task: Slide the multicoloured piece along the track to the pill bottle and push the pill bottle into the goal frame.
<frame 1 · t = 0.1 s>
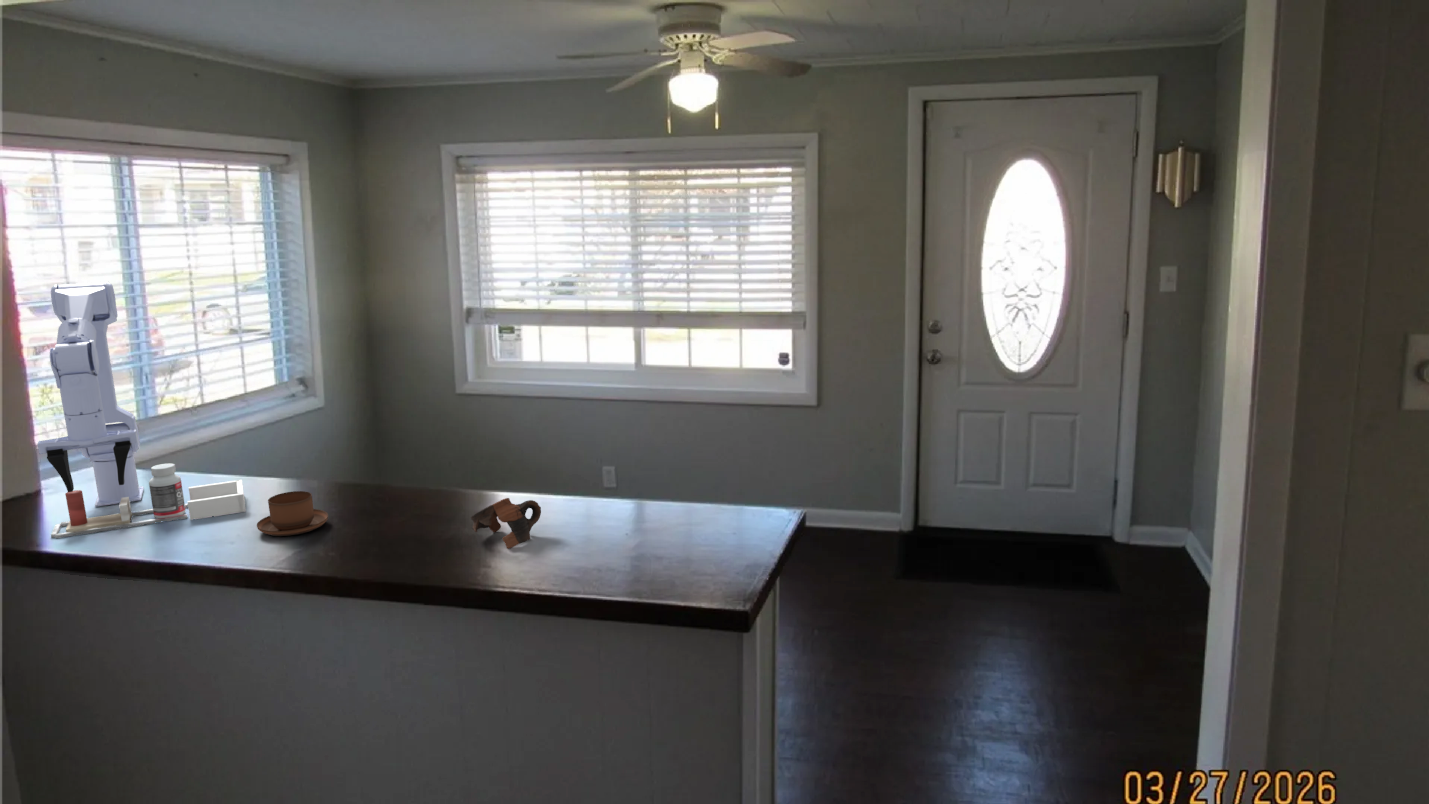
hand: (96, 487, 172), 10 cm above the countertop, tool pointing down, fingers open, 7 cm apart
track: (125, 521, 185), on the countertop
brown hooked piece: (509, 539, 171), on the countertop
multicoloured piece: (97, 507, 182), point 3 cm above the countertop, slide at 0.0 cm
cup and saucer: (294, 530, 178), on the countertop
goal frame: (216, 507, 191), on the countertop
pill bottle: (170, 516, 188), on the countertop
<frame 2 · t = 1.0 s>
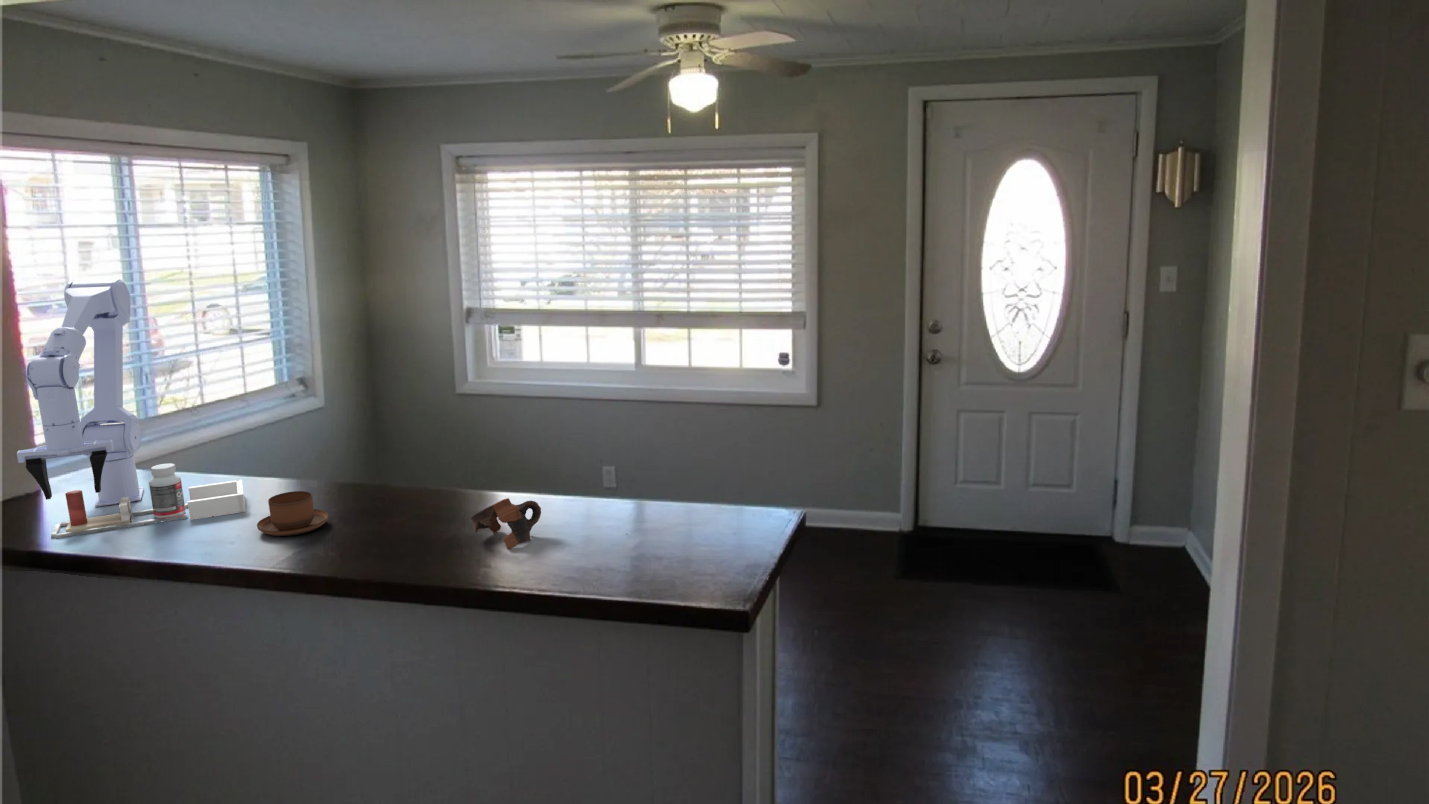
hand: (73, 494, 180), 7 cm above the countertop, tool pointing down, fingers open, 7 cm apart
nothing on the countertop moved.
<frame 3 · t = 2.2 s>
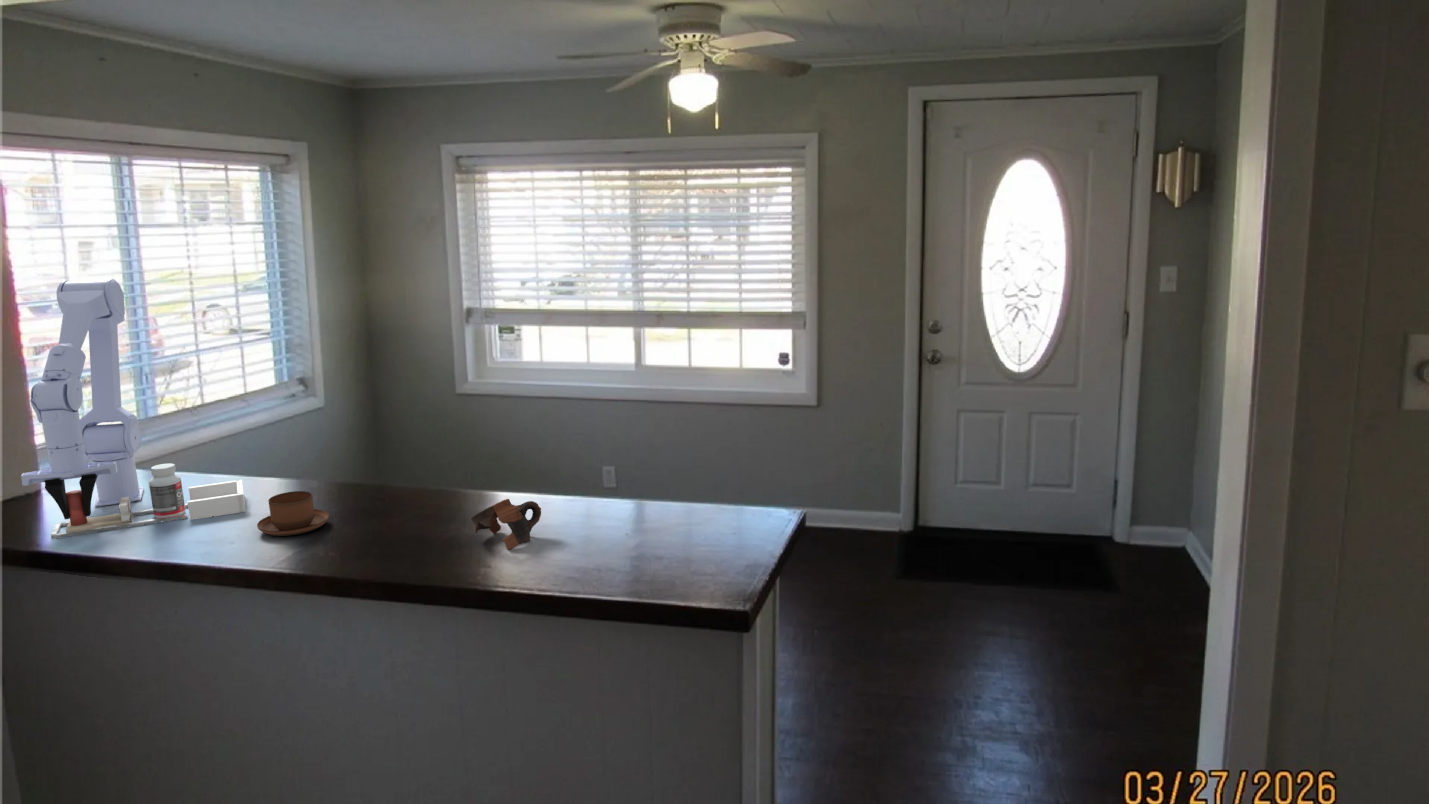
hand: (77, 516, 181), 2 cm above the countertop, tool pointing down, fingers closed on multicoloured piece, 3 cm apart
multicoloured piece: (97, 507, 182), point 4 cm above the countertop, slide at 0.0 cm, touching gripper
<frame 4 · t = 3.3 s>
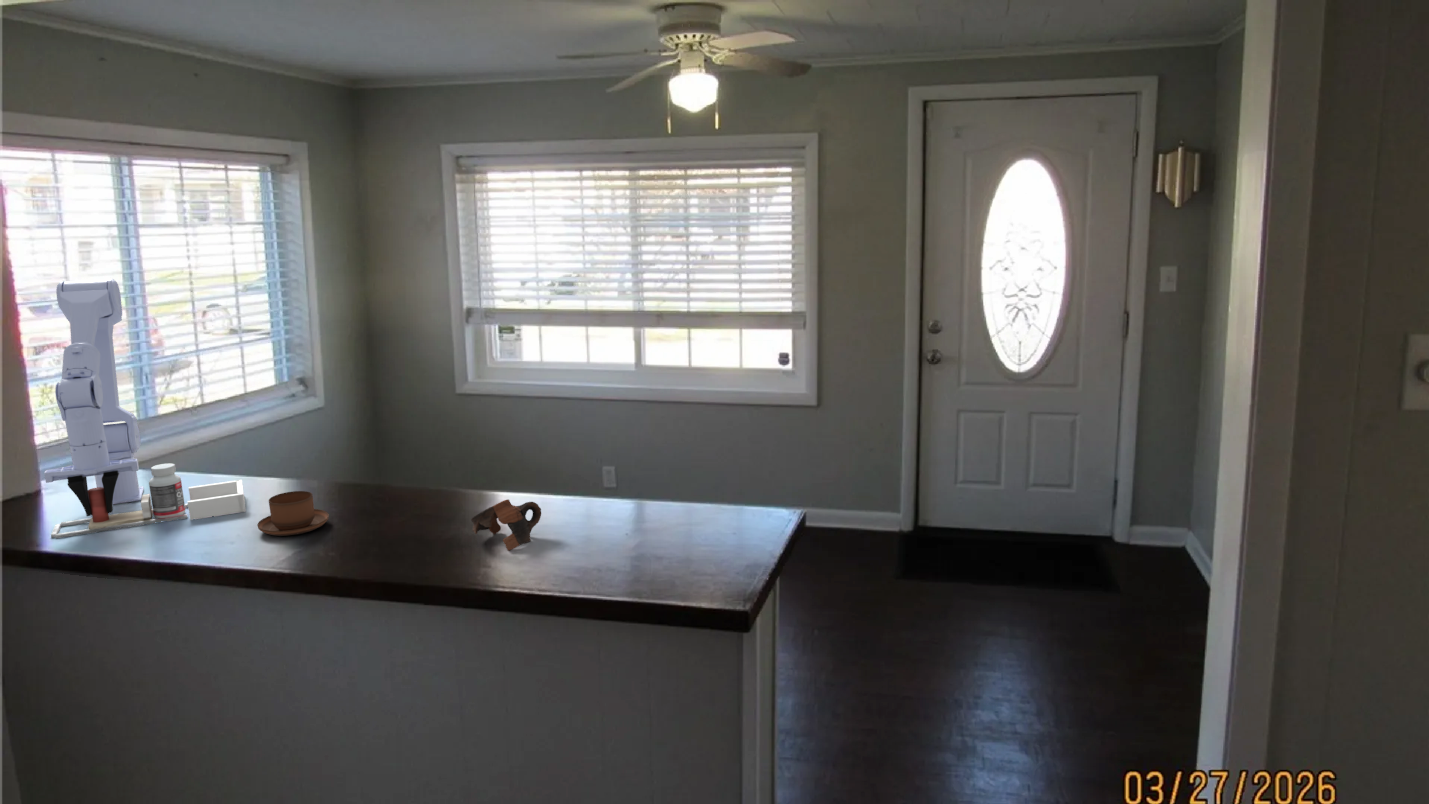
hand: (99, 513, 182), 2 cm above the countertop, tool pointing down, fingers closed on multicoloured piece, 3 cm apart
multicoloured piece: (118, 504, 184), point 3 cm above the countertop, slide at 3.5 cm, touching gripper
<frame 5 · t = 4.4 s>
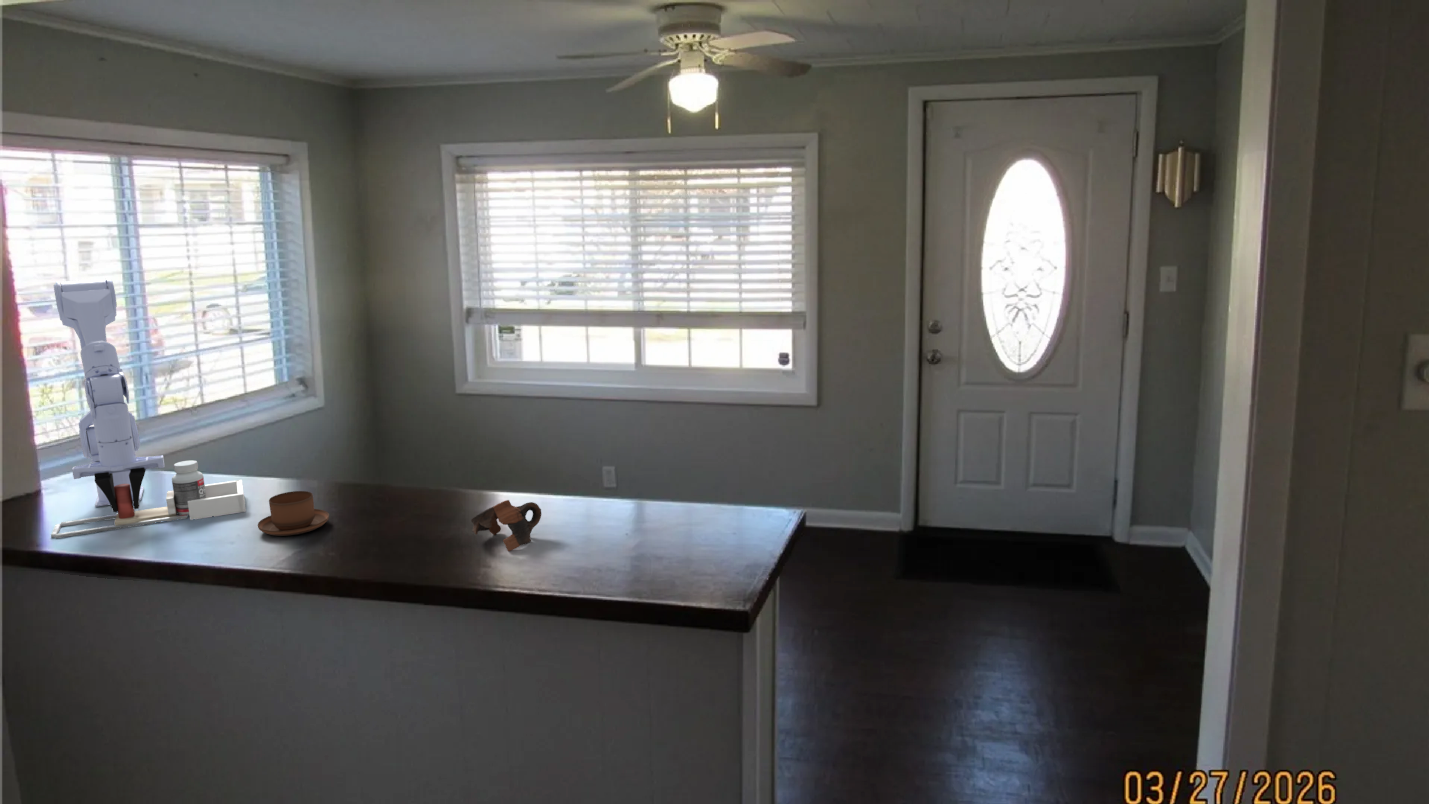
hand: (126, 509, 184), 2 cm above the countertop, tool pointing down, fingers open, 3 cm apart
multicoloured piece: (144, 500, 185), point 4 cm above the countertop, slide at 7.6 cm, touching gripper, pill bottle
pill bottle: (192, 512, 189), on the countertop, touching multicoloured piece
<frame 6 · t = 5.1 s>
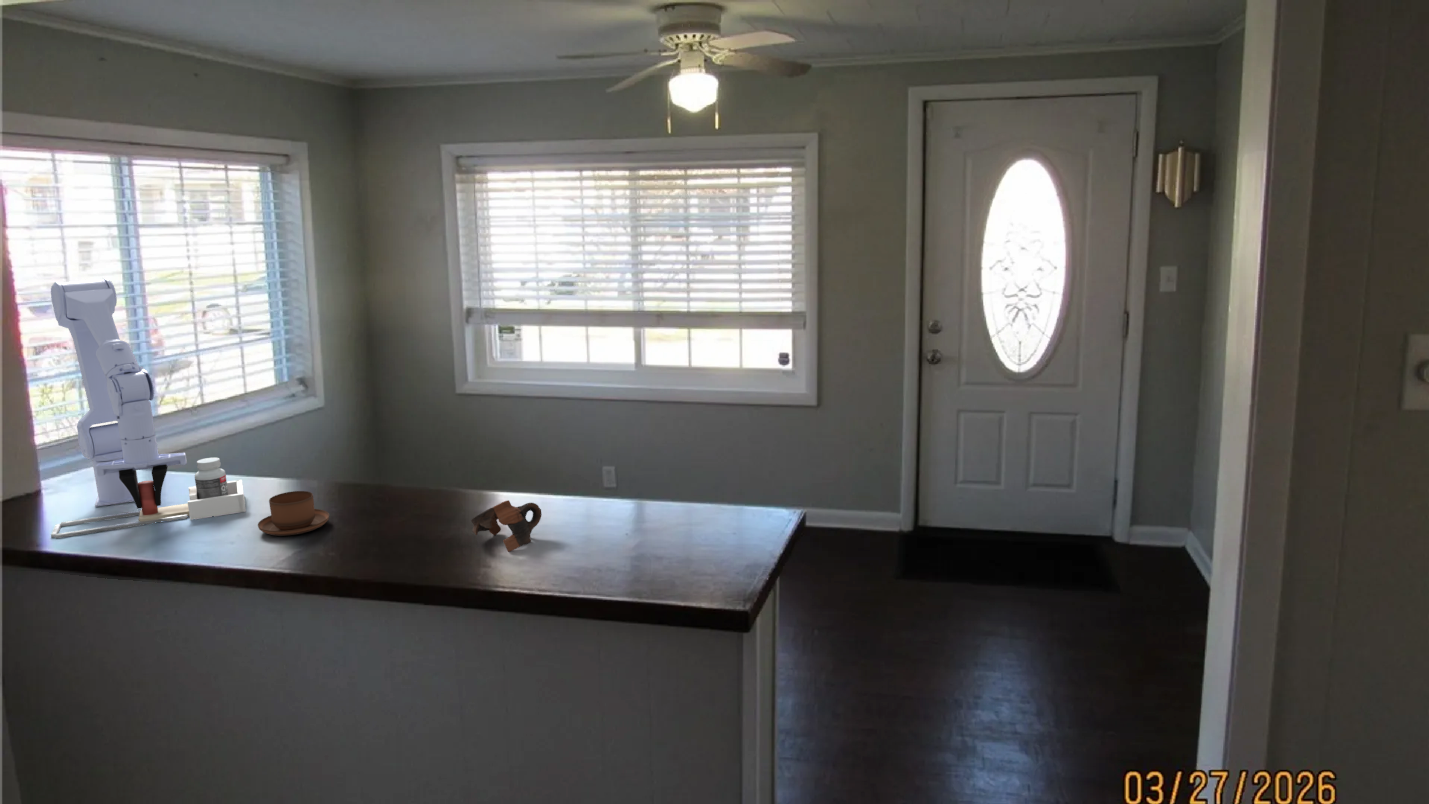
hand: (149, 505, 186), 2 cm above the countertop, tool pointing down, fingers closed on multicoloured piece, 2 cm apart
multicoloured piece: (167, 497, 187), point 4 cm above the countertop, slide at 11.5 cm, touching gripper, pill bottle
pill bottle: (215, 509, 191), on the countertop, touching multicoloured piece
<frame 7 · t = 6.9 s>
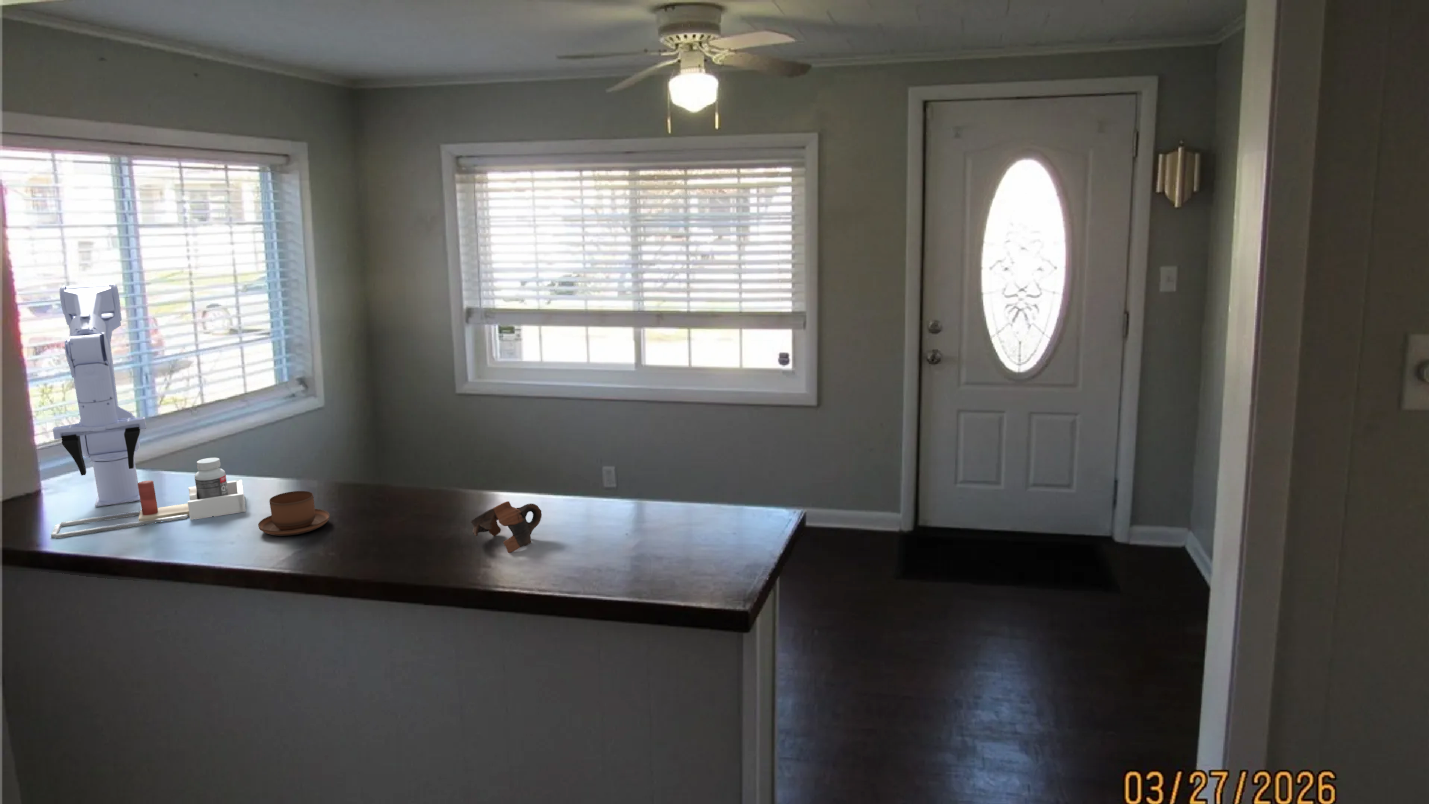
hand: (107, 470, 183), 10 cm above the countertop, tool pointing down, fingers open, 7 cm apart
multicoloured piece: (167, 497, 187), point 4 cm above the countertop, slide at 11.5 cm
pill bottle: (215, 509, 191), on the countertop
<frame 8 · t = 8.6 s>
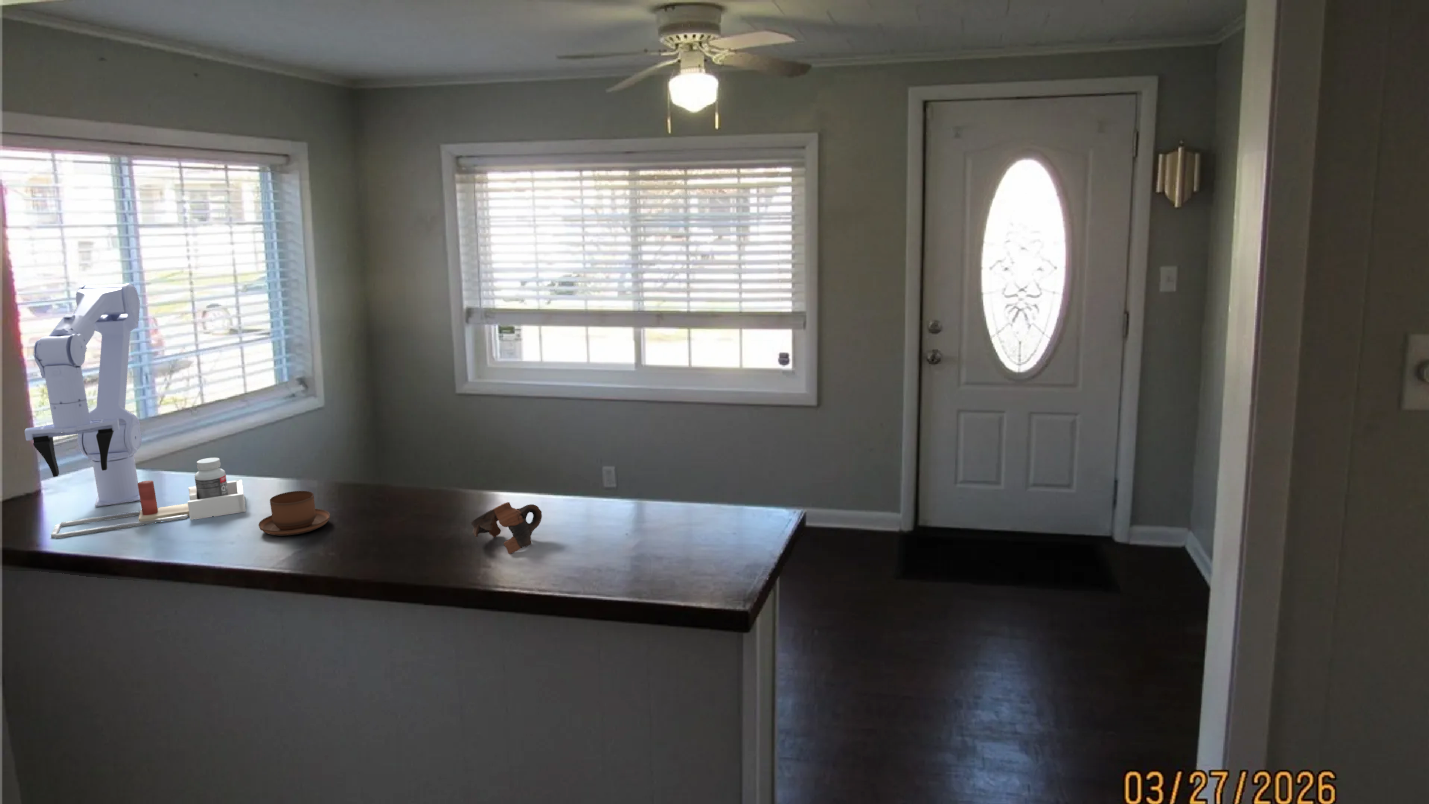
hand: (80, 472, 182), 10 cm above the countertop, tool pointing down, fingers open, 7 cm apart
at the end: pill bottle inside the target area (0.8 cm from its centre), on the countertop; multicoloured piece slide at 11.5 cm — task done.
